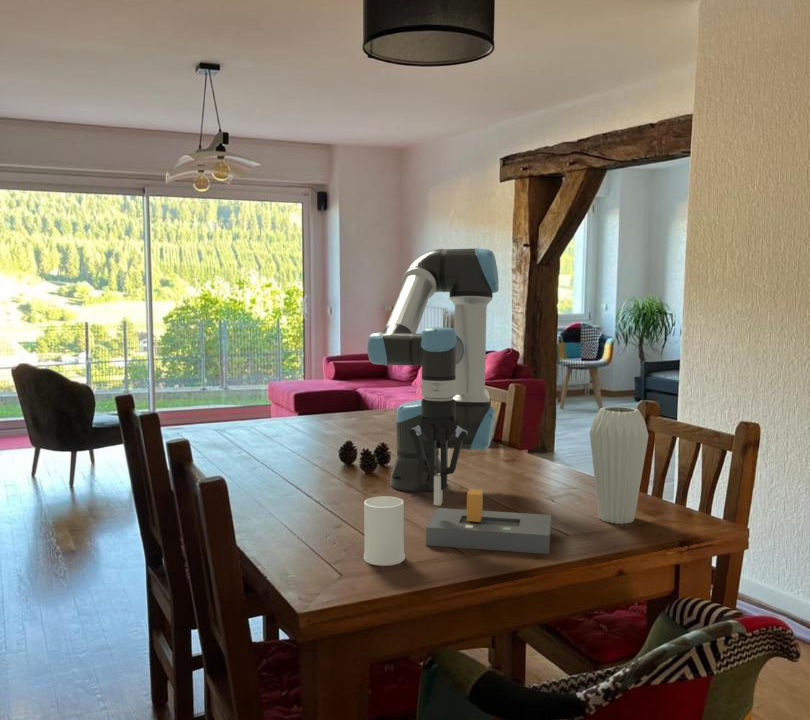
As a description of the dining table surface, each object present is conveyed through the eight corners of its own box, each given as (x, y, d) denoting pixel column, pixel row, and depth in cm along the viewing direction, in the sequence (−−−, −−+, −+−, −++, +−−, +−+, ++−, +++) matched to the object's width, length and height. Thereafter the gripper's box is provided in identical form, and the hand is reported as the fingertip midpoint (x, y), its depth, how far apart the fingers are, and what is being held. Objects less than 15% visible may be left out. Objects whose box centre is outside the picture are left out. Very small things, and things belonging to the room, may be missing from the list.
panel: (426, 545, 170) (426, 526, 169) (436, 524, 183) (437, 507, 183) (548, 553, 164) (549, 534, 164) (550, 532, 178) (551, 514, 178)
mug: (351, 550, 167) (350, 494, 166) (387, 543, 171) (387, 489, 169) (373, 568, 157) (373, 510, 155) (412, 561, 160) (412, 504, 159)
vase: (636, 531, 178) (640, 416, 175) (579, 521, 185) (582, 411, 182) (652, 515, 190) (655, 407, 187) (598, 507, 197) (600, 402, 194)
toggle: (466, 521, 172) (466, 494, 172) (469, 515, 176) (469, 489, 176) (480, 521, 172) (480, 495, 171) (482, 516, 176) (482, 490, 175)
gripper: (405, 399, 170) (405, 506, 173) (465, 401, 168) (465, 510, 170) (412, 394, 178) (412, 497, 180) (470, 396, 175) (469, 500, 177)
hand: (438, 503), depth 175 cm, fingers closed
